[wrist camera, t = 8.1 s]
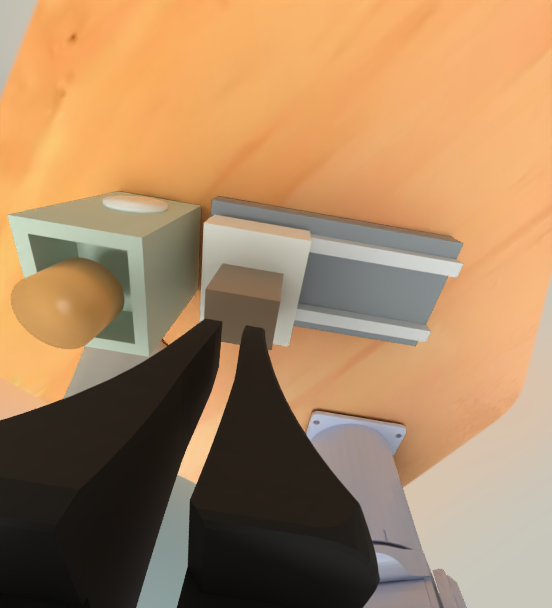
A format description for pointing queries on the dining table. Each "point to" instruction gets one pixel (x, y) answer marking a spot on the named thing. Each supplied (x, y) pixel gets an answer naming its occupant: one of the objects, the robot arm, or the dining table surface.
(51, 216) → the cabinet
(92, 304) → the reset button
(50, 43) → the dining table surface
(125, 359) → the flask
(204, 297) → the carriage
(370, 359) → the dining table surface
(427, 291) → the rail track
